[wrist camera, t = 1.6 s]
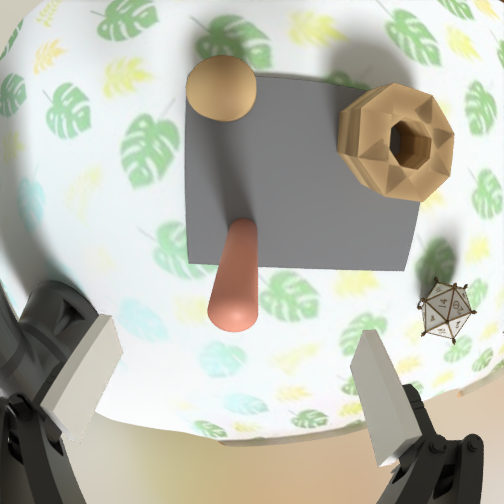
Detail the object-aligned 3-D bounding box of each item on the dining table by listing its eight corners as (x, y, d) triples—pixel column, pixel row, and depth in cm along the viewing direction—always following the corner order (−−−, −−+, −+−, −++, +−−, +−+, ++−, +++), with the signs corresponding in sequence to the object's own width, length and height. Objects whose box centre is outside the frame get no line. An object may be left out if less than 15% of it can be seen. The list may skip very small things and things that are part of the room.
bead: (334, 180, 26) (353, 193, 21) (340, 85, 22) (361, 74, 17) (415, 191, 26) (444, 206, 21) (423, 106, 22) (455, 104, 17)
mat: (189, 261, 31) (188, 263, 30) (188, 78, 23) (187, 77, 22) (402, 269, 31) (404, 271, 31) (427, 108, 23) (429, 108, 22)
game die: (410, 283, 36) (405, 304, 28) (458, 260, 31) (467, 275, 23) (428, 333, 35) (425, 366, 27) (475, 313, 30) (485, 342, 22)
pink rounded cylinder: (228, 244, 29) (208, 330, 17) (228, 217, 28) (206, 290, 15) (256, 245, 29) (256, 333, 17) (258, 218, 28) (259, 293, 15)
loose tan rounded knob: (197, 122, 24) (184, 120, 20) (199, 69, 22) (187, 57, 17) (255, 122, 24) (254, 119, 20) (257, 69, 22) (257, 55, 17)
